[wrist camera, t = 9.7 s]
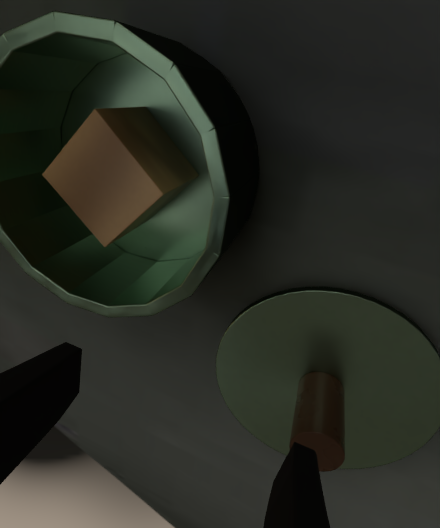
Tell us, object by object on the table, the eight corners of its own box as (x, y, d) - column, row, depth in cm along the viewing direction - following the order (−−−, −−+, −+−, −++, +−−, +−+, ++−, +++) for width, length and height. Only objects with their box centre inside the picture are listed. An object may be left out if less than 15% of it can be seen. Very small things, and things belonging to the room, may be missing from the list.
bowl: (276, 258, 18) (254, 312, 14) (98, 274, 22) (33, 320, 18) (232, 1, 14) (179, -46, 10) (25, 76, 18) (-83, 69, 14)
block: (199, 175, 17) (164, 194, 14) (147, 221, 19) (104, 248, 16) (145, 106, 17) (94, 108, 13) (97, 160, 19) (41, 174, 15)
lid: (443, 463, 20) (471, 565, 16) (241, 443, 25) (219, 519, 20) (444, 272, 16) (482, 337, 12) (200, 287, 20) (161, 340, 16)
